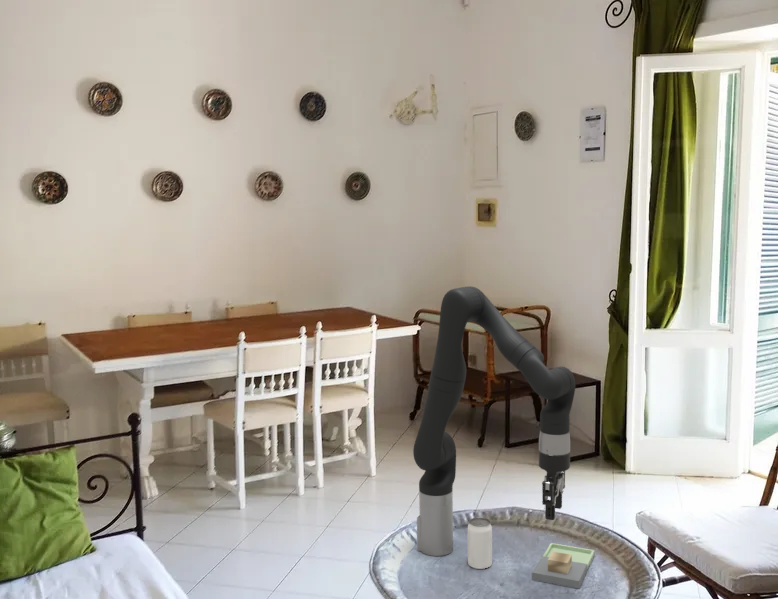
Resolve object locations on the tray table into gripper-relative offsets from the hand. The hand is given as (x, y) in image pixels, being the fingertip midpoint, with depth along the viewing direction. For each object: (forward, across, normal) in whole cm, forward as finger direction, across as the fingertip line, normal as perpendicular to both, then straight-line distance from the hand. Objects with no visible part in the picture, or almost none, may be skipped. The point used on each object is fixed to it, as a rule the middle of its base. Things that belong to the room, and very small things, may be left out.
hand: (553, 513), depth 202 cm
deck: (+20, -7, 0) cm, 21 cm away
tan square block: (+18, -7, 0) cm, 19 cm away
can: (+20, -5, -21) cm, 29 cm away
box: (+20, -18, 0) cm, 26 cm away
